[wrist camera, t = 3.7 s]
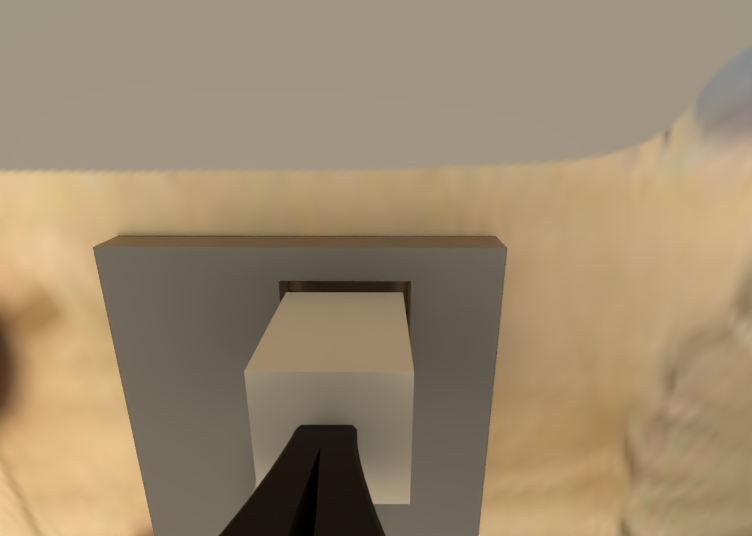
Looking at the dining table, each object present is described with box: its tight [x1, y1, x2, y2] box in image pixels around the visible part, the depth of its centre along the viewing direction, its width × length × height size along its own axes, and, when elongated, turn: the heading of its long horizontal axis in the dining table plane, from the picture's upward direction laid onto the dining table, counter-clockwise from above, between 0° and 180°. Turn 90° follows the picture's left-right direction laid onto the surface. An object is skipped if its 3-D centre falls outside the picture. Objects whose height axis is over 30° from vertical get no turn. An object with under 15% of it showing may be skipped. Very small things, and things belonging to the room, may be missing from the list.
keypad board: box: [93, 236, 507, 536], centre depth 19 cm, size 14×22×2 cm, turn 0°
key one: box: [244, 292, 414, 504], centre depth 13 cm, size 4×4×5 cm
